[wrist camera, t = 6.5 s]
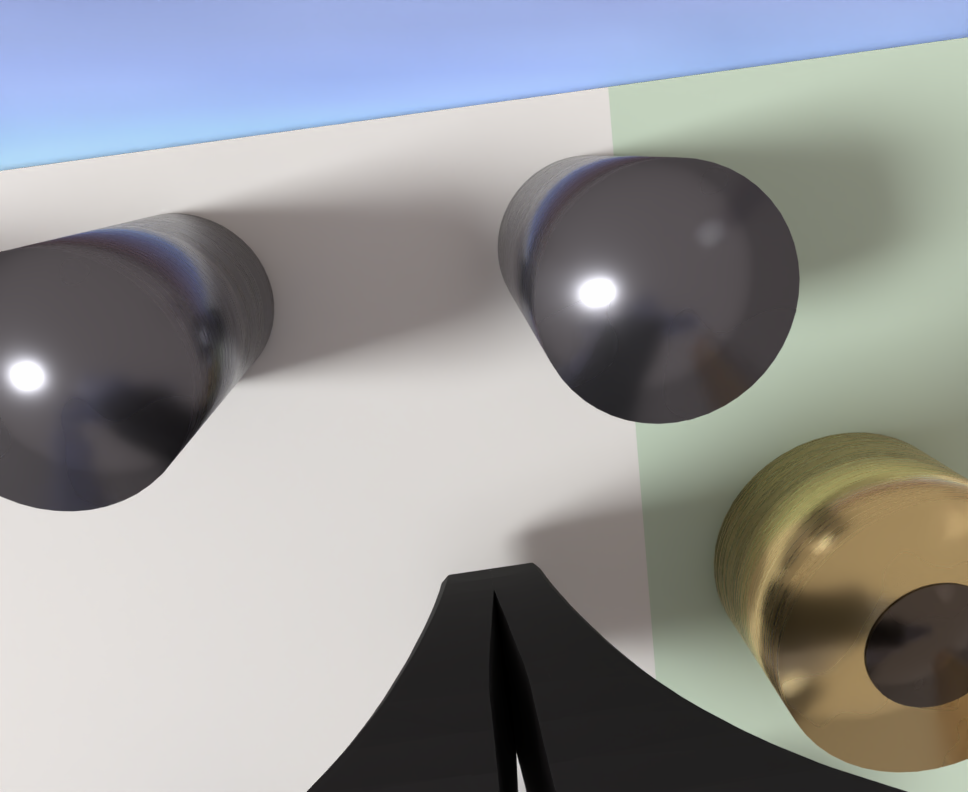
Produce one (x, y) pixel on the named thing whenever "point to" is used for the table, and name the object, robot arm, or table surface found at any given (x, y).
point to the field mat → (466, 419)
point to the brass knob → (857, 596)
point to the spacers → (250, 314)
